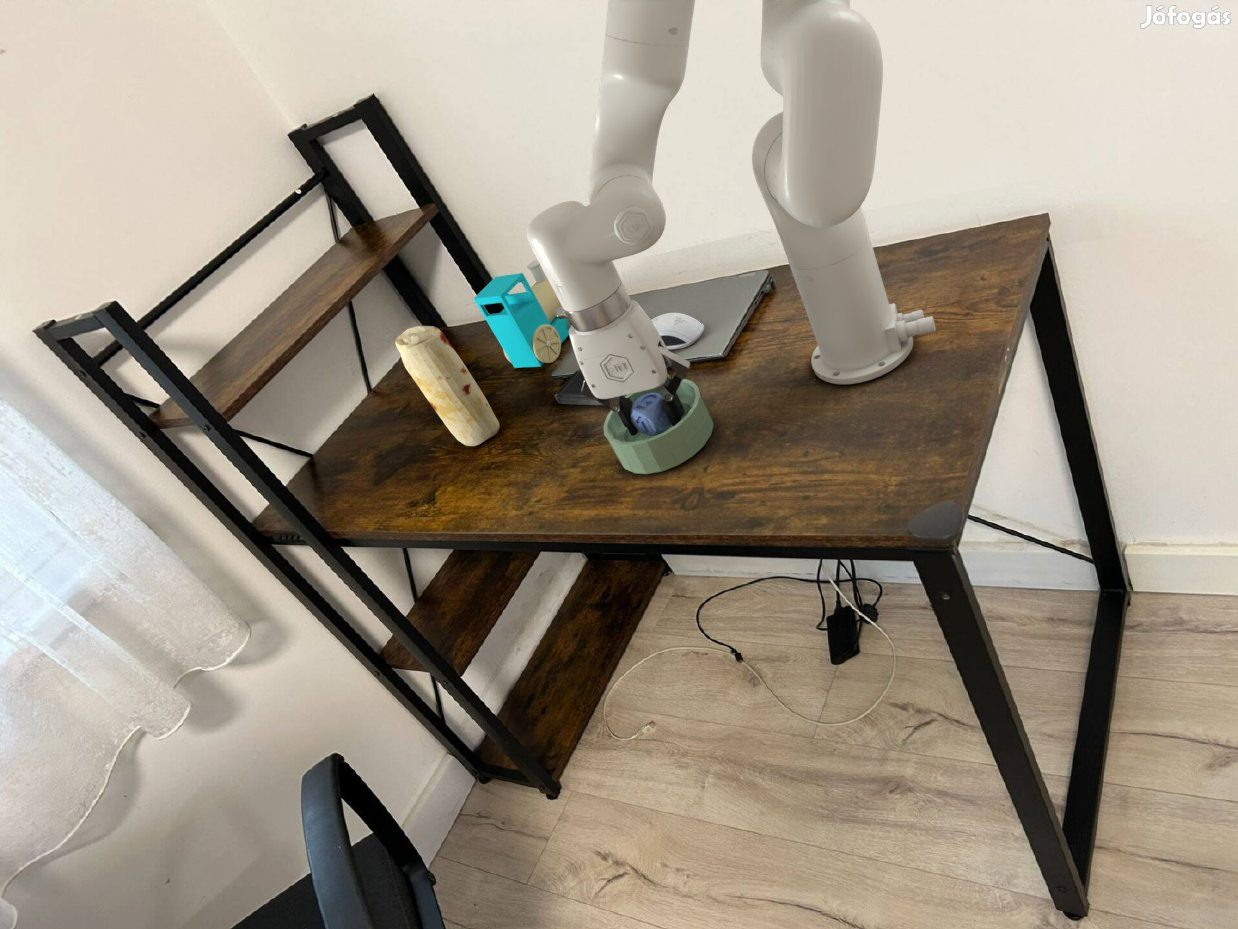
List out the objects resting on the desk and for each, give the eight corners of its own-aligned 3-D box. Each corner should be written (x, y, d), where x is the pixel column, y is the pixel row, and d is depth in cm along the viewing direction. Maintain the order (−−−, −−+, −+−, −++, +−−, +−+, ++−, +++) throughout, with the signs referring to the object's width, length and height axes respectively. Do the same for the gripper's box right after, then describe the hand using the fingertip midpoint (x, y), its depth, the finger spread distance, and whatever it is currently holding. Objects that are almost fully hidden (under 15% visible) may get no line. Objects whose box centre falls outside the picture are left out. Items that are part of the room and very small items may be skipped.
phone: (579, 366, 138) (652, 366, 128) (582, 372, 139) (655, 372, 129) (551, 398, 134) (624, 400, 124) (554, 404, 135) (627, 406, 125)
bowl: (722, 401, 116) (707, 369, 113) (705, 467, 106) (689, 433, 103) (633, 420, 122) (617, 389, 119) (610, 484, 112) (592, 452, 109)
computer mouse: (691, 354, 129) (681, 332, 126) (595, 363, 140) (584, 343, 137) (717, 315, 134) (708, 293, 132) (622, 326, 145) (612, 306, 143)
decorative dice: (638, 434, 113) (625, 410, 111) (655, 414, 115) (643, 391, 112) (661, 437, 110) (648, 413, 108) (678, 417, 112) (666, 393, 110)
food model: (513, 420, 137) (447, 315, 126) (490, 449, 133) (420, 342, 122) (470, 422, 142) (403, 322, 132) (447, 450, 138) (376, 348, 128)
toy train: (597, 312, 154) (559, 238, 146) (547, 370, 145) (503, 294, 137) (564, 315, 159) (525, 244, 151) (513, 372, 150) (470, 299, 142)
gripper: (527, 341, 103) (592, 454, 113) (657, 305, 96) (715, 431, 106) (546, 307, 109) (606, 419, 119) (670, 271, 101) (724, 393, 111)
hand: (657, 423), depth 112 cm, fingers closed on decorative dice, 5 cm apart
